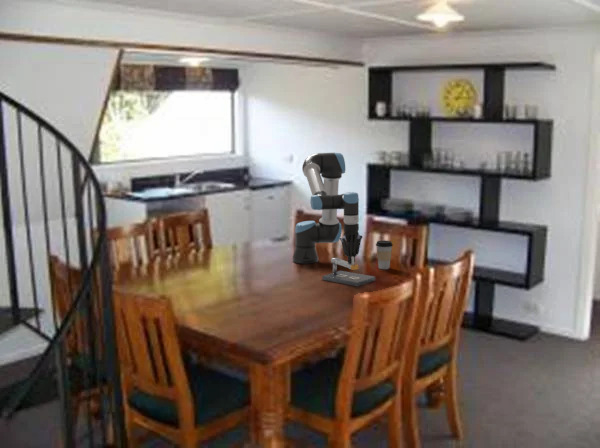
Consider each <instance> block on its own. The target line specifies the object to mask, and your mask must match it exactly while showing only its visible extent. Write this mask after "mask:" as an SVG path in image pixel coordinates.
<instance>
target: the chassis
mask: <svg viewBox="0 0 600 448" xmlns="http://www.w3.org/2000/svg"><path fill="white" fill-rule="evenodd" d="M337 268H338V264H336V263H332V272H331V273H329V274H325V275H322V281H327V282H332V283H337V284H343V285H347V286H353V287H360V286H363V285H366V284H369V283H371V282H374V281H376V276H373V275H367V274H362V273H356V272H351V271H346V270H338V269H337Z"/></svg>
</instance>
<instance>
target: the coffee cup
mask: <svg viewBox="0 0 600 448" xmlns="http://www.w3.org/2000/svg"><path fill="white" fill-rule="evenodd" d="M375 246H376V254H377V255H376V256H377V263H378V269H380V270H389V269H390V265H391V264H390V263H391V259H392V247H393V246H394V245H393V243H392V241H390V240H378V241H376V243H375Z"/></svg>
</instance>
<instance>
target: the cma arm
mask: <svg viewBox="0 0 600 448" xmlns="http://www.w3.org/2000/svg"><path fill="white" fill-rule="evenodd" d="M330 262H331V263H332V264H333V263H336V264H337V266H341V267H344V268H347V269H349V268H350V269H349V270H353V271H355V270H359V264H357V263H354V264H353V263H348V260H347V261H346V260H345V259H341V258H339V257H331V258H330Z"/></svg>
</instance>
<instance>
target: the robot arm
mask: <svg viewBox="0 0 600 448" xmlns="http://www.w3.org/2000/svg"><path fill="white" fill-rule="evenodd" d="M302 173H303V175H304V176H305V178H306V179H307V182H308V186H309V188H310V192H311V196H310V200H309V201H310V202H309V203H310V208H311V209H312V210H313V211H314V210H315V211H321V217H320V218H319V220H318V222H317V223H316V221H315V220H305V221H300V222H297V223H296V225H295V229H294V232H295V249H294V252H293V255H292V262H293V263H296V264H303V265H306V264H313V263H319V255H318V252H317V249H316V244H324V243H325V244H328V243H329V244H332V243H338V242H339V241H340V242H341V244H342V245H341V246H342V250H343V254H344V256H346V257H347V262H348V263H353V264H355V262H356V257H357V255H359V252H360V247H361V242H362V239H363V235H360V233H359V228H360V227H359V214H360V213H359V211H360V210H359V201H360V198H359V193H358V192H354V191H352V192H351V191H349V192H348V191H347V192H344V193H341V194H339V180H341V178H342V176H343V175H344V174H345V173H346V161H345V158H344V155H343V154H342V153H341V152H315V153H311V154H310V155H309V156H307V157H306V158H305V159H304V160H303V163H302ZM342 174H343V175H342ZM338 210H343V229H342V224H341V222H340V220H339V219H338V217H337V216H338ZM342 230H343V231H344V234H343V236H342V233H343V231H342ZM348 269H349V270H351V269H350V268H348Z"/></svg>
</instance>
